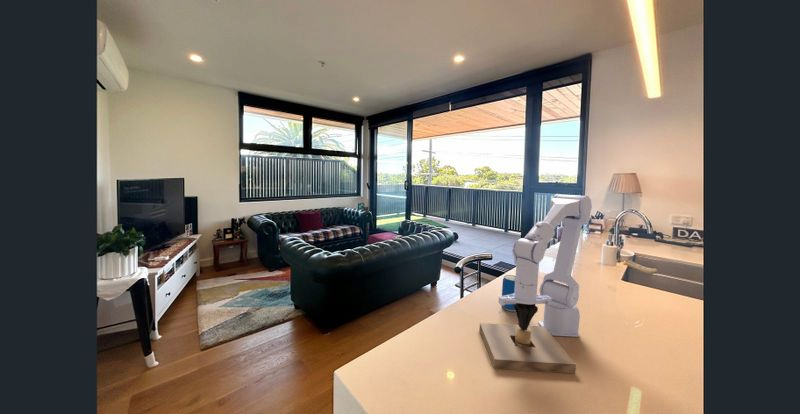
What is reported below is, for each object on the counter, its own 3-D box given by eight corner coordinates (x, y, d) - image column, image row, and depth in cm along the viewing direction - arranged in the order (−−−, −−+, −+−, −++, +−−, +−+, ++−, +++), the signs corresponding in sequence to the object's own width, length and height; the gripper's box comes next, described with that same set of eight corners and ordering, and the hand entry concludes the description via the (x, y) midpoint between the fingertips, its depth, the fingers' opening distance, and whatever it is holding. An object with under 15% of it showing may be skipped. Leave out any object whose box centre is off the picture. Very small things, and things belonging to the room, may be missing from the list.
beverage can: (521, 313, 101) (523, 281, 100) (502, 311, 103) (504, 279, 101) (517, 305, 108) (519, 275, 107) (499, 303, 109) (501, 273, 108)
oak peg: (524, 344, 82) (526, 325, 81) (532, 353, 78) (534, 333, 77) (511, 345, 82) (513, 325, 81) (519, 354, 78) (520, 333, 77)
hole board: (543, 333, 88) (544, 326, 88) (575, 373, 70) (576, 364, 70) (479, 330, 89) (479, 322, 89) (494, 368, 72) (494, 359, 71)
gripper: (542, 276, 82) (539, 320, 84) (495, 277, 81) (492, 321, 83) (557, 285, 75) (554, 333, 77) (506, 286, 74) (503, 334, 76)
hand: (522, 328), depth 79 cm, fingers closed
